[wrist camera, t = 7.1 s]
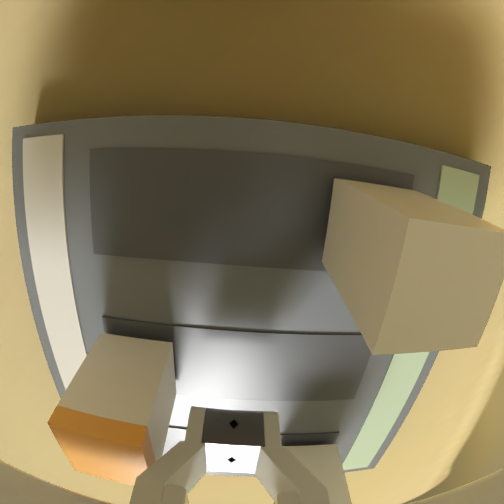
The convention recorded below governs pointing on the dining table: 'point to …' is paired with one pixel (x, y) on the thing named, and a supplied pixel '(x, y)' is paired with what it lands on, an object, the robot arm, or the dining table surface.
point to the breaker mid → (117, 408)
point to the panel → (221, 262)
